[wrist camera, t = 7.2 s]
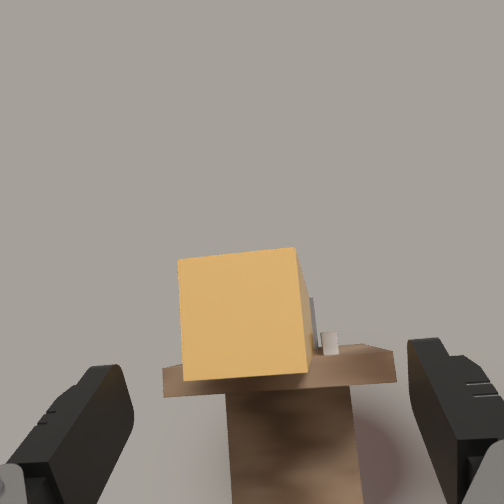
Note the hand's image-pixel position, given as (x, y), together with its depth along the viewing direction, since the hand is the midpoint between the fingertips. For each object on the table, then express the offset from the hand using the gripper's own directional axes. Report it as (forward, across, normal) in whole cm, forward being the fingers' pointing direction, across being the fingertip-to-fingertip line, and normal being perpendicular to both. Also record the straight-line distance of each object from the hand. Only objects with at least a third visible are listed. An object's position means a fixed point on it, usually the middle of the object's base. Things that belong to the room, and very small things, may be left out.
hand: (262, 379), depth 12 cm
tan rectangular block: (+10, -1, -6) cm, 12 cm away
